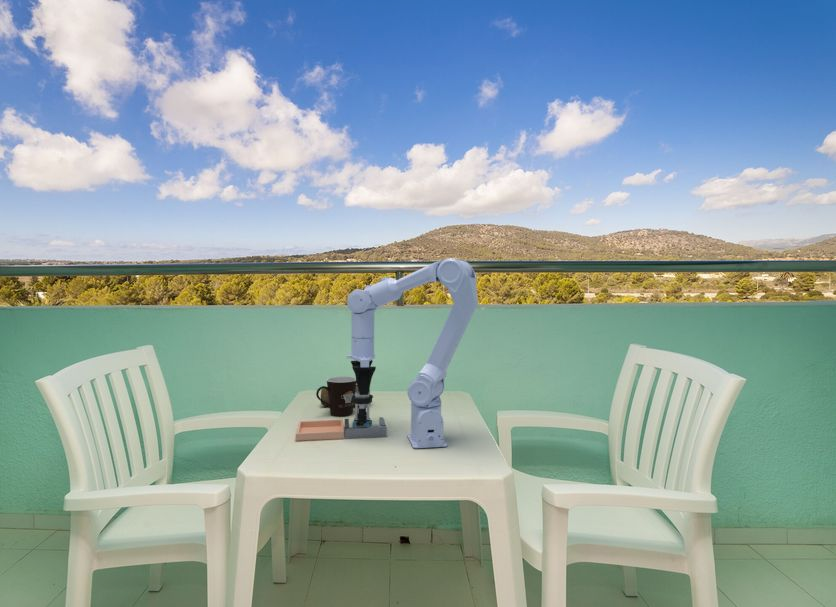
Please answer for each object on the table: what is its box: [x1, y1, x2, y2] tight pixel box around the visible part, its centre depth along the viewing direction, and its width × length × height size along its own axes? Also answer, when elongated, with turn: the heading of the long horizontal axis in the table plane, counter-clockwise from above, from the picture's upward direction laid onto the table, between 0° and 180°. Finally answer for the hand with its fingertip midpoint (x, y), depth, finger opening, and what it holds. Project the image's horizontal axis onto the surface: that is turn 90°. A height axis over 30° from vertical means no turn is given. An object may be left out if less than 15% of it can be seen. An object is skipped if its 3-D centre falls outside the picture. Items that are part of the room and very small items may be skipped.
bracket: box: [343, 416, 388, 440], centre depth 113 cm, size 8×10×2 cm
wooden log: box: [320, 384, 371, 407], centre depth 138 cm, size 15×7×7 cm, turn 98°
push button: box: [351, 391, 379, 427], centre depth 113 cm, size 7×5×10 cm
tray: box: [295, 419, 345, 442], centre depth 111 cm, size 10×11×2 cm
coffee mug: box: [315, 376, 357, 418], centre depth 129 cm, size 12×9×10 cm
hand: (362, 391), depth 113 cm, fingers open, 7 cm apart
